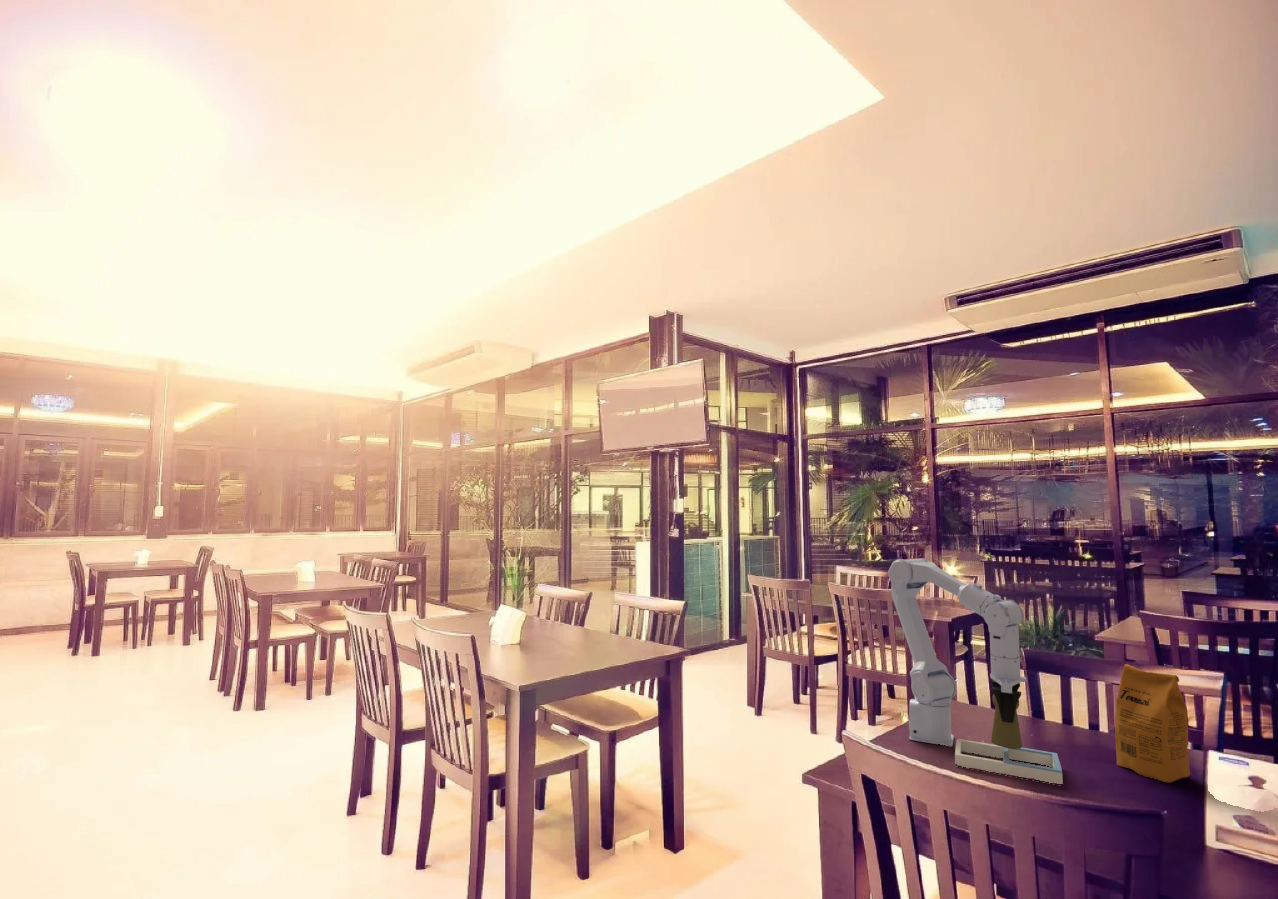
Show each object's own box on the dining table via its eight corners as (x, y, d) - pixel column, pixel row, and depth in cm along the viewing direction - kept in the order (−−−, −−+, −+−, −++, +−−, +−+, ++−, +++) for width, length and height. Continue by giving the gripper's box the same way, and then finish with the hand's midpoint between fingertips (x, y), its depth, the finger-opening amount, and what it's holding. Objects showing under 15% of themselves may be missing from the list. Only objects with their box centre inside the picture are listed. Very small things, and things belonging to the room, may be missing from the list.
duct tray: (955, 766, 142) (954, 752, 143) (957, 749, 152) (956, 736, 152) (1062, 785, 133) (1062, 771, 133) (1057, 766, 143) (1056, 753, 143)
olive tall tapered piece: (1026, 750, 139) (1025, 698, 140) (996, 747, 141) (995, 695, 141) (1016, 740, 145) (1015, 690, 146) (987, 737, 146) (986, 687, 147)
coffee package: (1138, 758, 148) (1133, 660, 150) (1199, 780, 136) (1193, 674, 138) (1106, 763, 145) (1102, 663, 147) (1166, 786, 133) (1160, 677, 135)
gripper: (1027, 665, 136) (1030, 731, 135) (1024, 651, 149) (1026, 712, 148) (989, 660, 139) (991, 725, 138) (989, 647, 152) (991, 707, 151)
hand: (1007, 718), depth 143 cm, fingers closed on olive tall tapered piece, 5 cm apart
